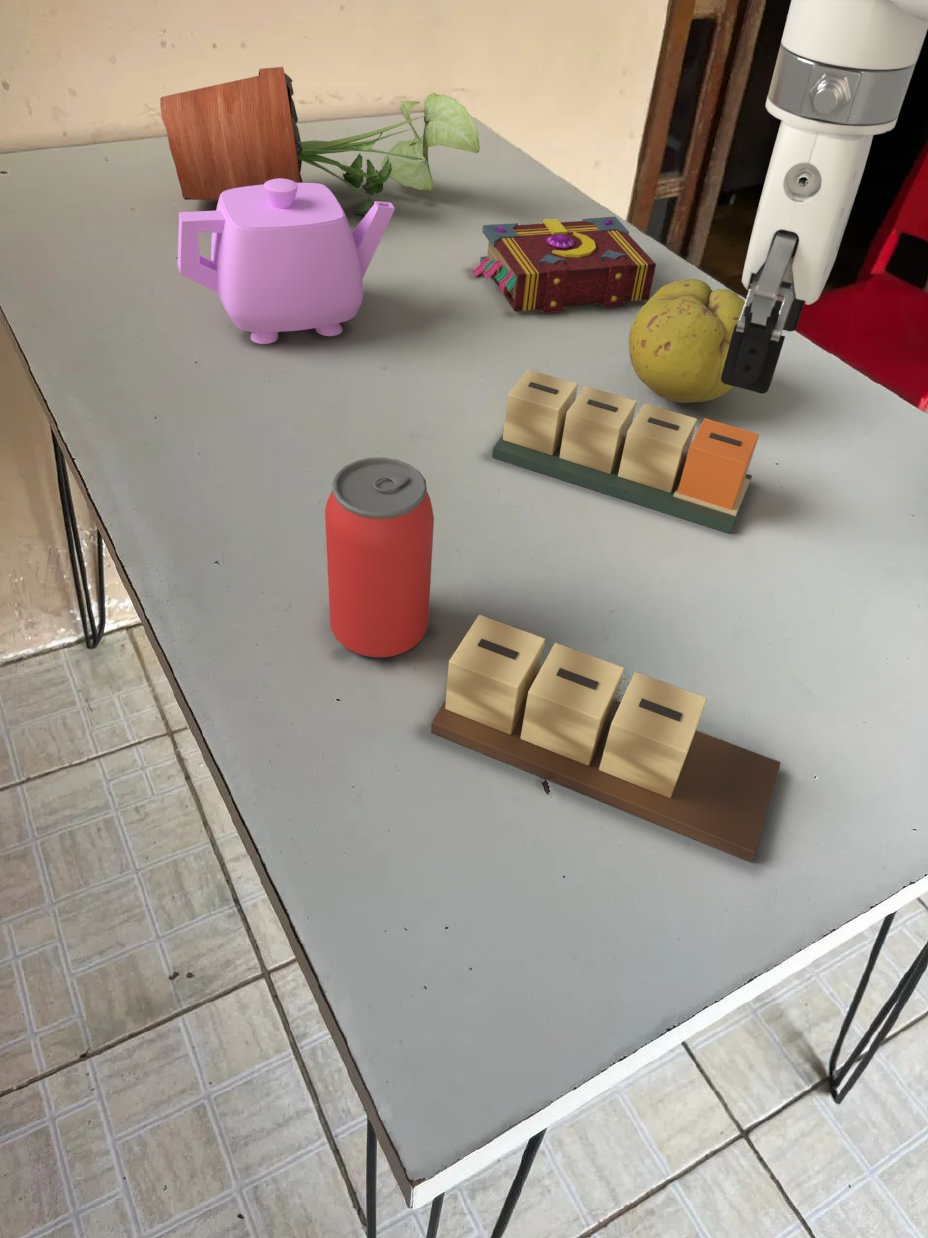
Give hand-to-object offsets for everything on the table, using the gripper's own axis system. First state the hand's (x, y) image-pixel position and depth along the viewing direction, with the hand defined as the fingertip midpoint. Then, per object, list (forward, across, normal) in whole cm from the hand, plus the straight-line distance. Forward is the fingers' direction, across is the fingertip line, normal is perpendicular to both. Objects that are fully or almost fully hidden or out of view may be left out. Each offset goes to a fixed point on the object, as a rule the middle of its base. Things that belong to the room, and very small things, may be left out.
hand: (759, 354), depth 68 cm
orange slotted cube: (+12, +1, +1) cm, 12 cm away
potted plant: (+12, +34, +54) cm, 65 cm away
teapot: (+13, +8, +44) cm, 47 cm away
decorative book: (+13, +28, +24) cm, 39 cm away
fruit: (+13, +14, +7) cm, 21 cm away
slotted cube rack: (+13, 0, +8) cm, 15 cm away
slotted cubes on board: (+14, -28, 0) cm, 31 cm away
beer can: (+14, -24, +17) cm, 33 cm away
